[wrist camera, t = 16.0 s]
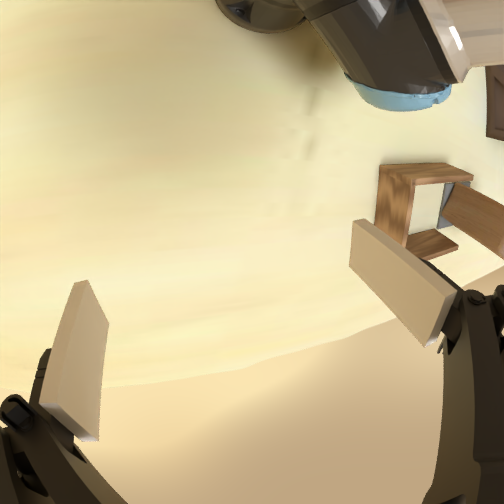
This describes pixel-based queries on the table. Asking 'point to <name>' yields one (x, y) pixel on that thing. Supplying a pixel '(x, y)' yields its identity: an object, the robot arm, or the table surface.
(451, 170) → the cubby
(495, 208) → the block
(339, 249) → the table surface
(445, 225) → the pad
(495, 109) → the wooden crate
